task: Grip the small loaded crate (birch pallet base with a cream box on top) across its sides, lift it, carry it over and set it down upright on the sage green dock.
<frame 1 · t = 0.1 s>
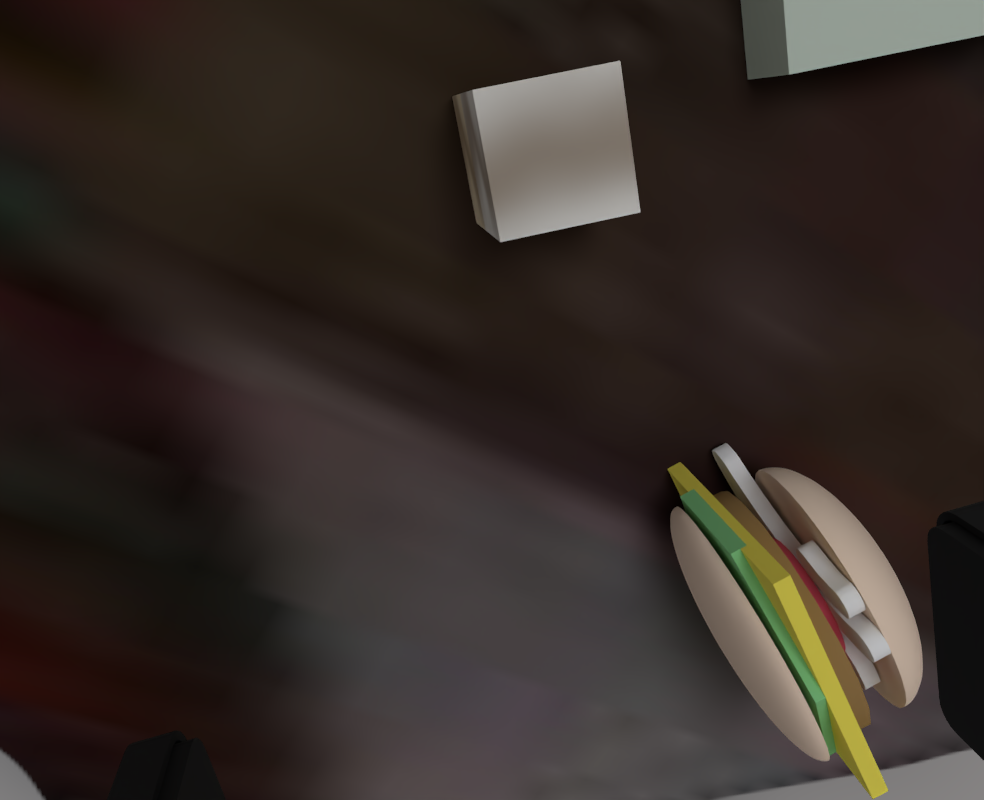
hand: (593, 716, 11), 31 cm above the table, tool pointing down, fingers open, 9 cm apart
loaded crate: (524, 148, 39), on the table
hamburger: (741, 540, 47), on the table
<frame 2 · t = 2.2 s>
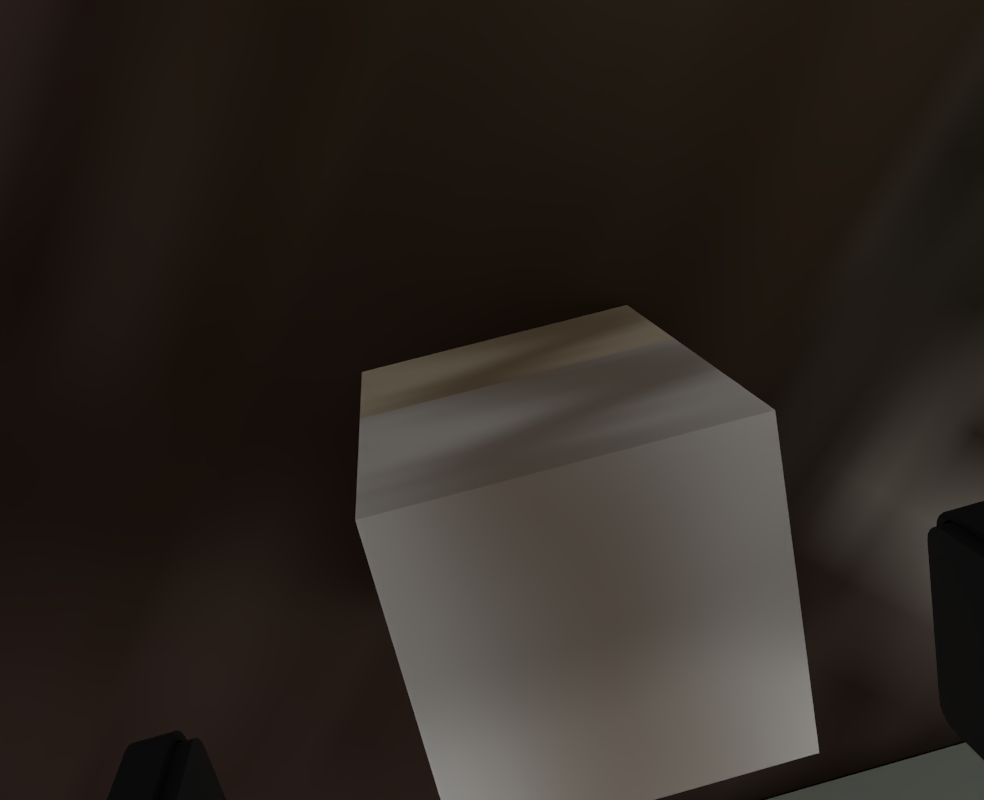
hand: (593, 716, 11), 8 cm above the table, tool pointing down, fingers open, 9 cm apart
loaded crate: (523, 460, 19), on the table
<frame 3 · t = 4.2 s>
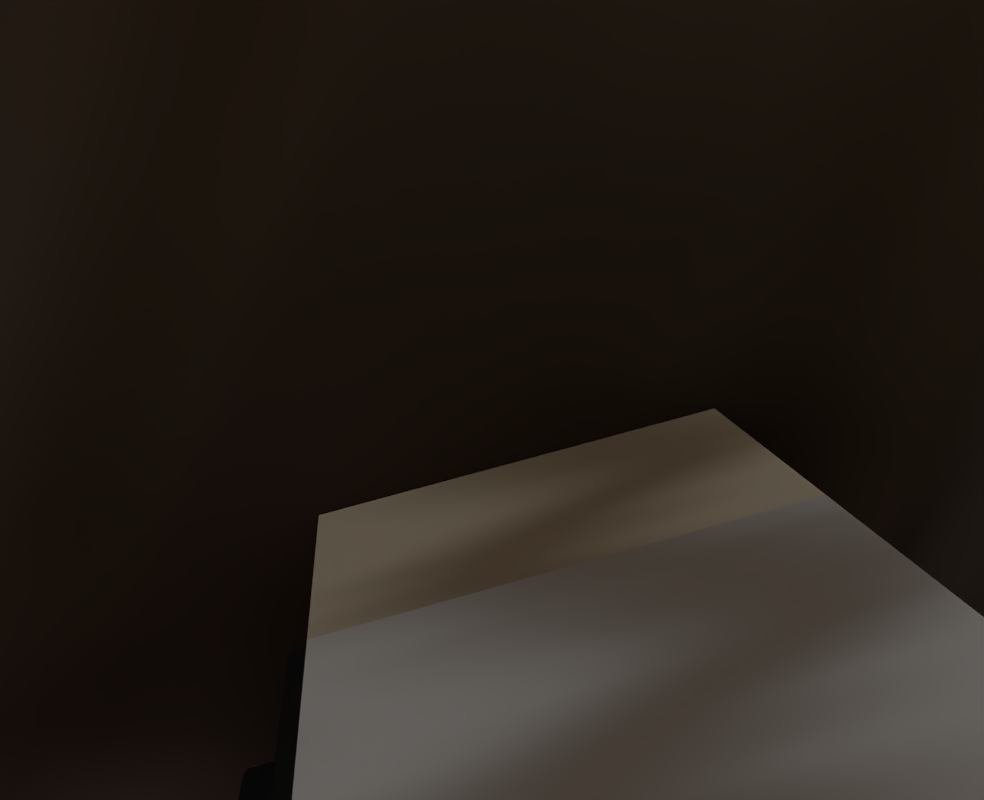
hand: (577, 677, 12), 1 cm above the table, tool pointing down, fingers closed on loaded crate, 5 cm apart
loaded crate: (560, 633, 13), on the table, touching gripper
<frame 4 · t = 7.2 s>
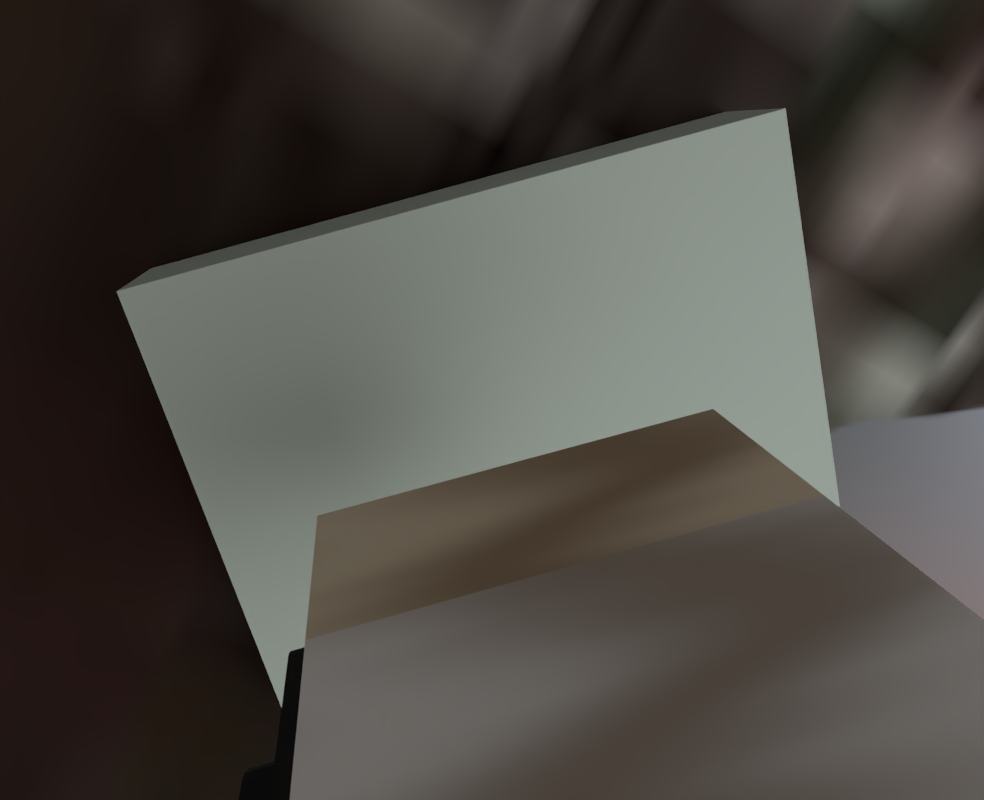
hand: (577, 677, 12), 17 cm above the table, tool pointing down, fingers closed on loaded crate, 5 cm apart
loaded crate: (558, 633, 13), point 16 cm above the table, touching gripper
dock: (504, 414, 29), on the table
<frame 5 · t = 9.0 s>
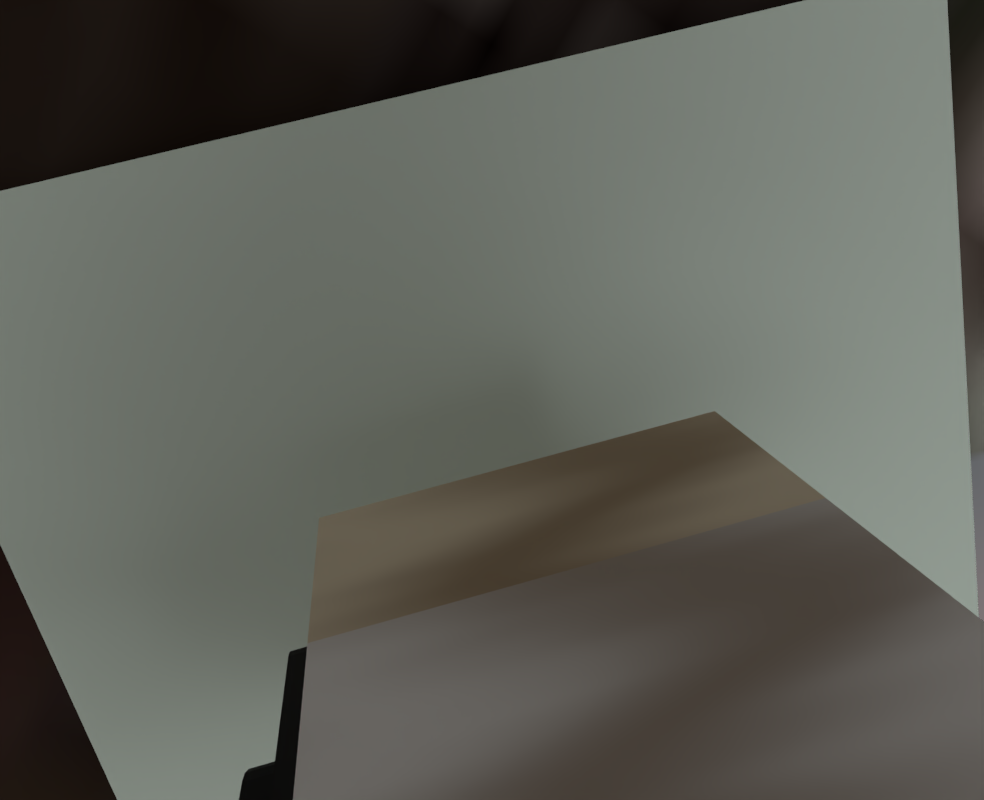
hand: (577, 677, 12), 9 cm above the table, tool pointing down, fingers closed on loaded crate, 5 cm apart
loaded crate: (560, 635, 13), point 8 cm above the table, touching gripper
dock: (490, 433, 20), on the table
when the fingers open (6 cm above the table, at t = 10.4 s): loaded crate drops 1 cm, resting on dock.
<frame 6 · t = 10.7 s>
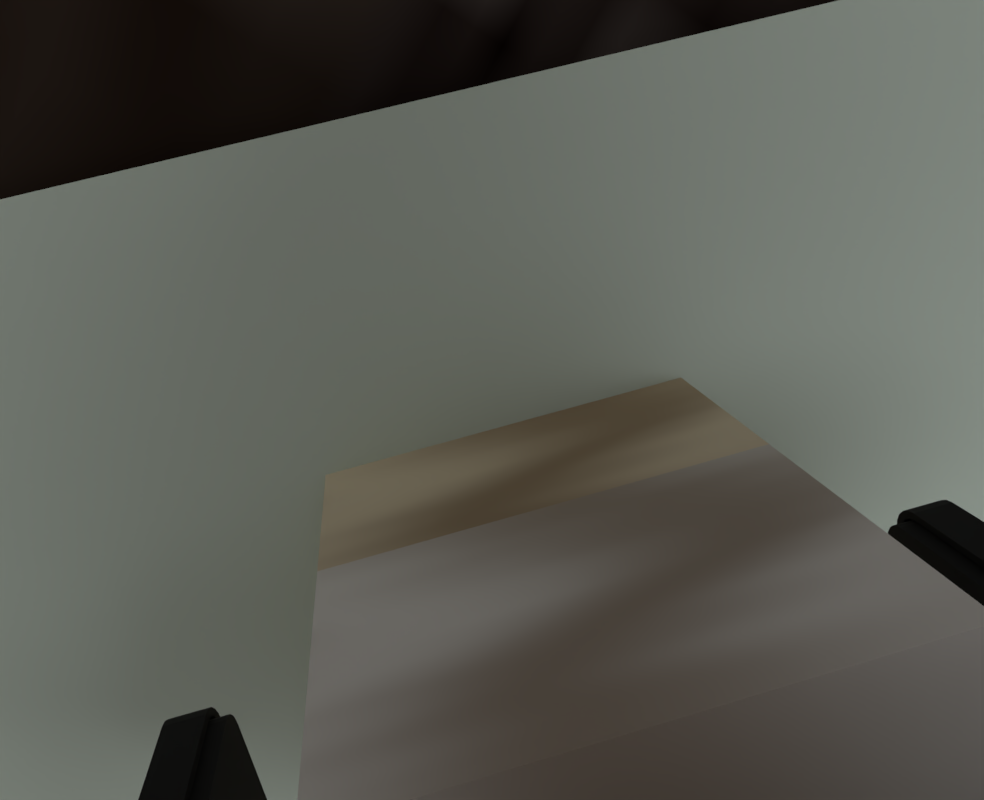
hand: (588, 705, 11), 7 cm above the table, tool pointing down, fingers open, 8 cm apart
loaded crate: (544, 583, 14), point 4 cm above the table, touching dock
dock: (500, 489, 18), on the table
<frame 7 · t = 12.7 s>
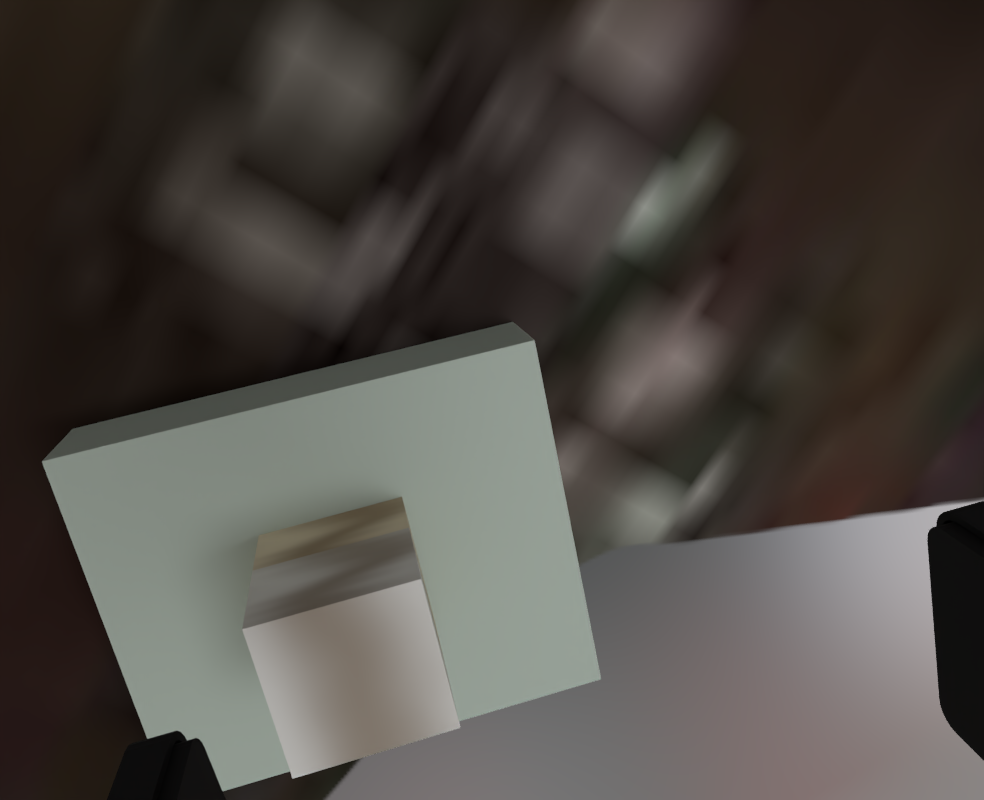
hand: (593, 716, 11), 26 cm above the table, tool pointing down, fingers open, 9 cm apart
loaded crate: (349, 579, 34), point 4 cm above the table, touching dock
dock: (345, 538, 38), on the table
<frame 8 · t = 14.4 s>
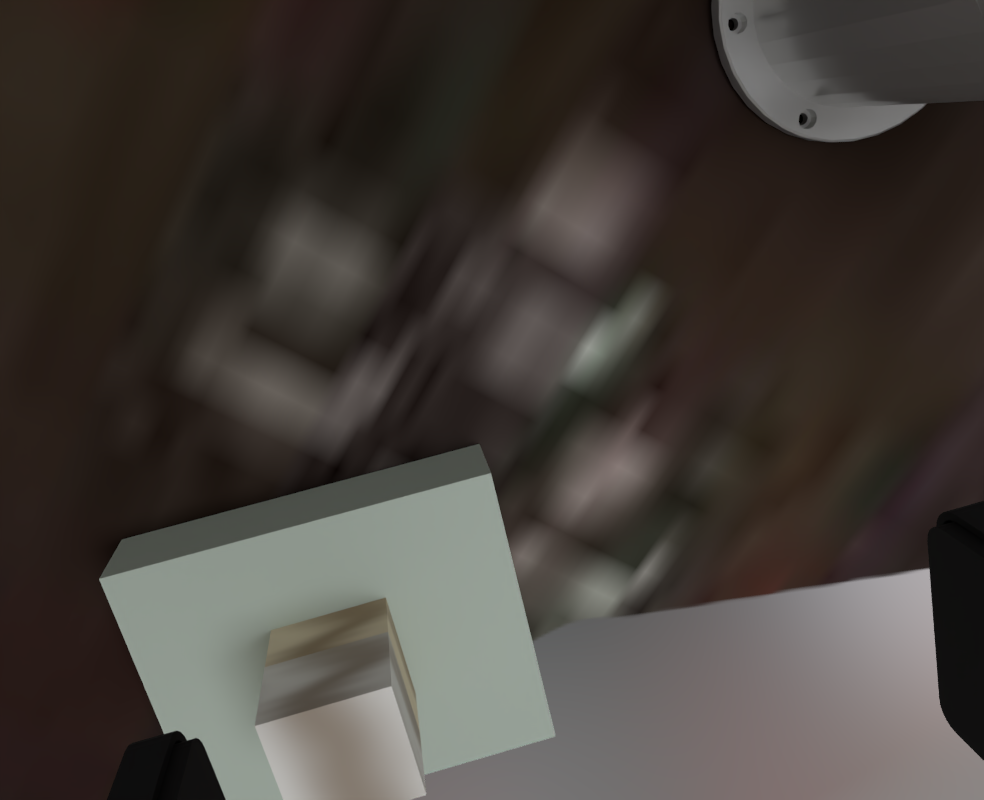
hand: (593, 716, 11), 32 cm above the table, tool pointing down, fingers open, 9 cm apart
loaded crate: (345, 662, 42), point 4 cm above the table, touching dock
dock: (344, 619, 46), on the table
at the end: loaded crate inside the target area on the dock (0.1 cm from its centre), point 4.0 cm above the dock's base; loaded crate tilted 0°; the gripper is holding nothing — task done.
